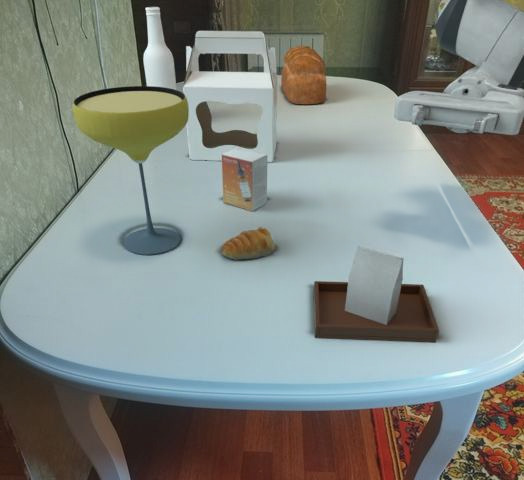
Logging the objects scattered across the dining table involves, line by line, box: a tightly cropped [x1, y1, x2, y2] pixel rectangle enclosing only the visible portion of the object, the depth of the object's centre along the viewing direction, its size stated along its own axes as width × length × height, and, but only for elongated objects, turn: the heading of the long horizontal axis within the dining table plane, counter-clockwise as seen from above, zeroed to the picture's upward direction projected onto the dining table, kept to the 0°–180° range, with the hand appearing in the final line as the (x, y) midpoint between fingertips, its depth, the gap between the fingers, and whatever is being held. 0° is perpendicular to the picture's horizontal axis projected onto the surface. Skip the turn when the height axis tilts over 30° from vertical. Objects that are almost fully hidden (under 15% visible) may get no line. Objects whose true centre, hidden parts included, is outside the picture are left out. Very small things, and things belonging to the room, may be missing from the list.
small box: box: [221, 148, 268, 212], centre depth 107 cm, size 8×6×10 cm
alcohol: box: [142, 6, 178, 90], centre depth 150 cm, size 9×9×30 cm
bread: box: [280, 45, 327, 105], centre depth 180 cm, size 14×26×16 cm, turn 5°
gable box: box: [182, 30, 278, 163], centre depth 127 cm, size 22×13×28 cm, turn 85°
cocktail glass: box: [72, 85, 189, 256], centre depth 88 cm, size 18×18×25 cm
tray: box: [313, 280, 440, 343], centre depth 76 cm, size 17×12×2 cm
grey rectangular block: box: [345, 245, 404, 325], centre depth 74 cm, size 4×7×10 cm, turn 57°
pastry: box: [221, 226, 276, 261], centre depth 92 cm, size 9×7×4 cm
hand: (446, 123), depth 78 cm, fingers open, 8 cm apart
